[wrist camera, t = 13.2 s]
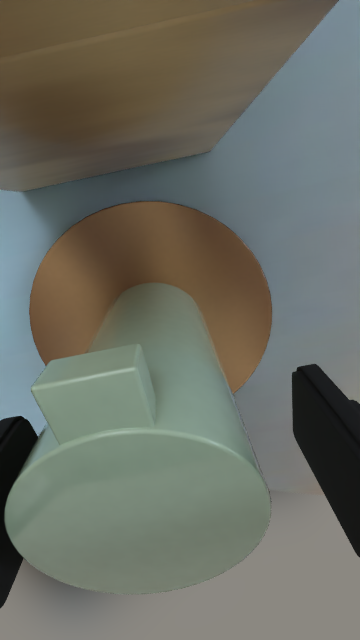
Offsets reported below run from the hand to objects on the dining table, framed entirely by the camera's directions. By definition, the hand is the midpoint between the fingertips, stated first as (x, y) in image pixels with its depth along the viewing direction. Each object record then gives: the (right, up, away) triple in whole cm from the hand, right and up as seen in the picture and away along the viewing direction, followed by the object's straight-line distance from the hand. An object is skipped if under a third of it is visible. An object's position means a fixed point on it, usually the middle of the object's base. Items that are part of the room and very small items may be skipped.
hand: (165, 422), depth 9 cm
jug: (-1, +3, +7) cm, 8 cm away
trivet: (-1, +3, +8) cm, 8 cm away
